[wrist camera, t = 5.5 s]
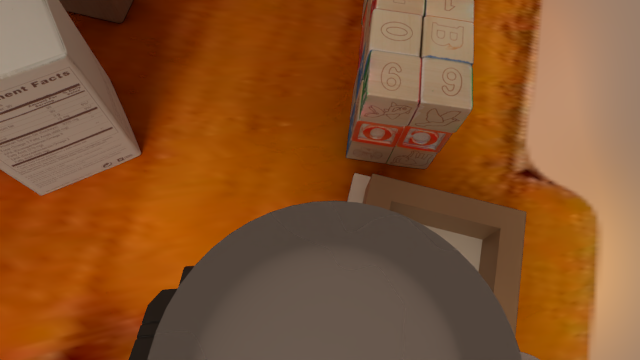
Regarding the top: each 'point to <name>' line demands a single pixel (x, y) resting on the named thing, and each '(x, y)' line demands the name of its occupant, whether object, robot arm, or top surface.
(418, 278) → the axle
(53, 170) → the supplement box
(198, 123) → the top surface
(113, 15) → the wooden block
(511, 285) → the cradle
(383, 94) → the stack of blocks
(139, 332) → the robot arm
